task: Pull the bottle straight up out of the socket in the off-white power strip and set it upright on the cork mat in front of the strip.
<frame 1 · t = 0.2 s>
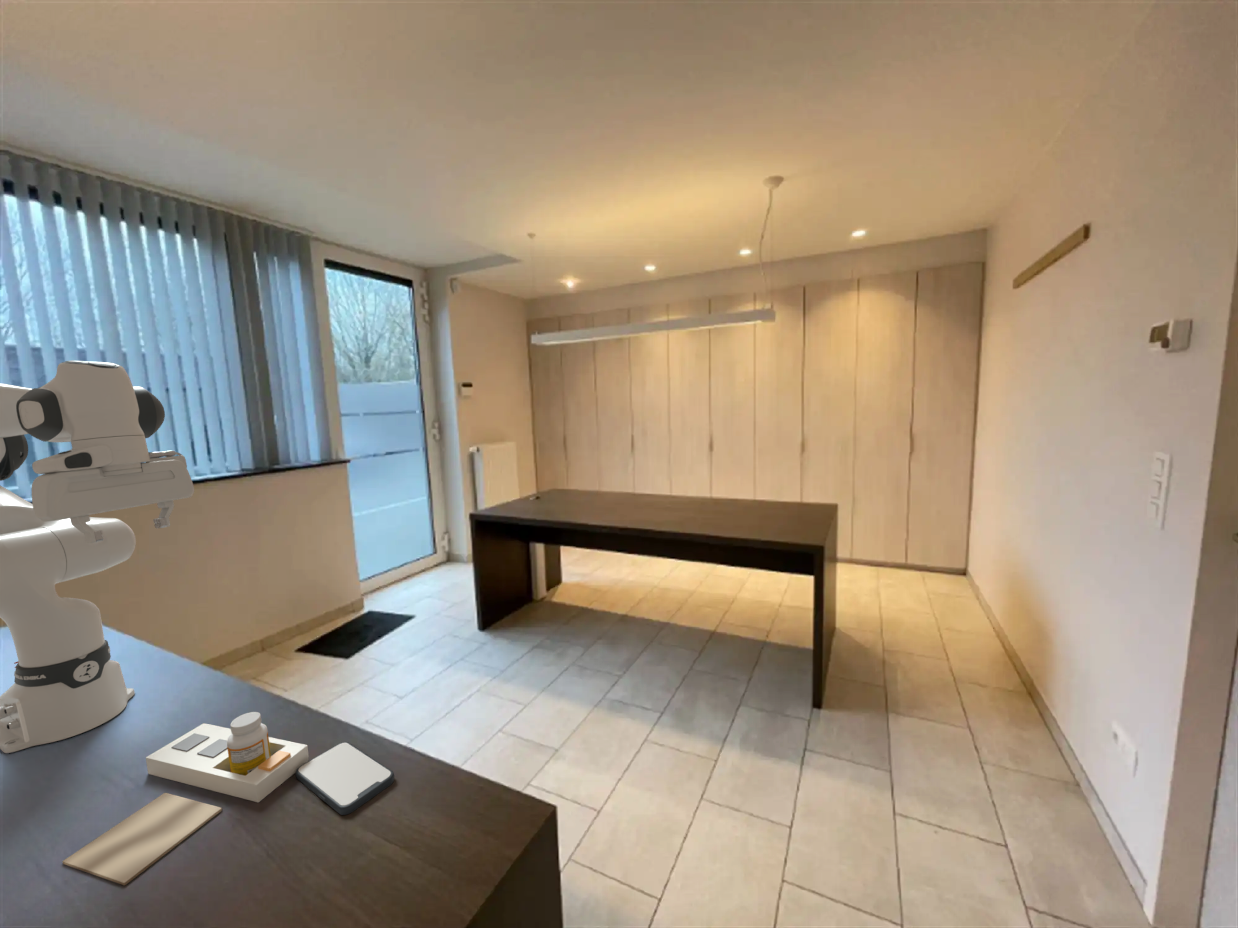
hand: (130, 534, 85), 39 cm above the table, tool pointing down, fingers open, 8 cm apart
supplement bottle: (252, 773, 82), resting in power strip
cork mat: (147, 835, 70), on the table
phone case: (345, 780, 80), on the table
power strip: (229, 767, 83), on the table
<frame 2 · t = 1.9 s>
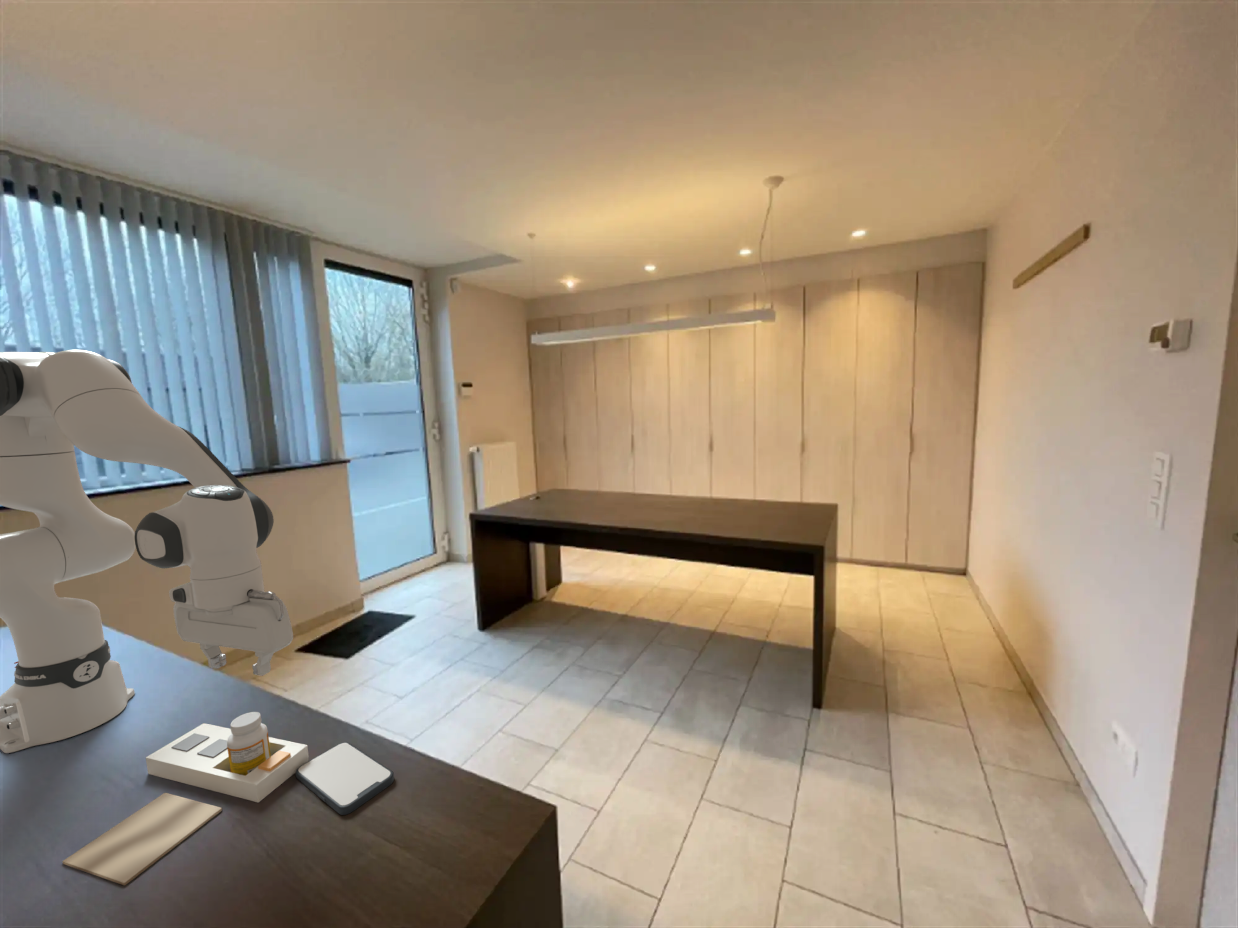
hand: (239, 669, 79), 18 cm above the table, tool pointing down, fingers open, 8 cm apart
nothing on the table moved.
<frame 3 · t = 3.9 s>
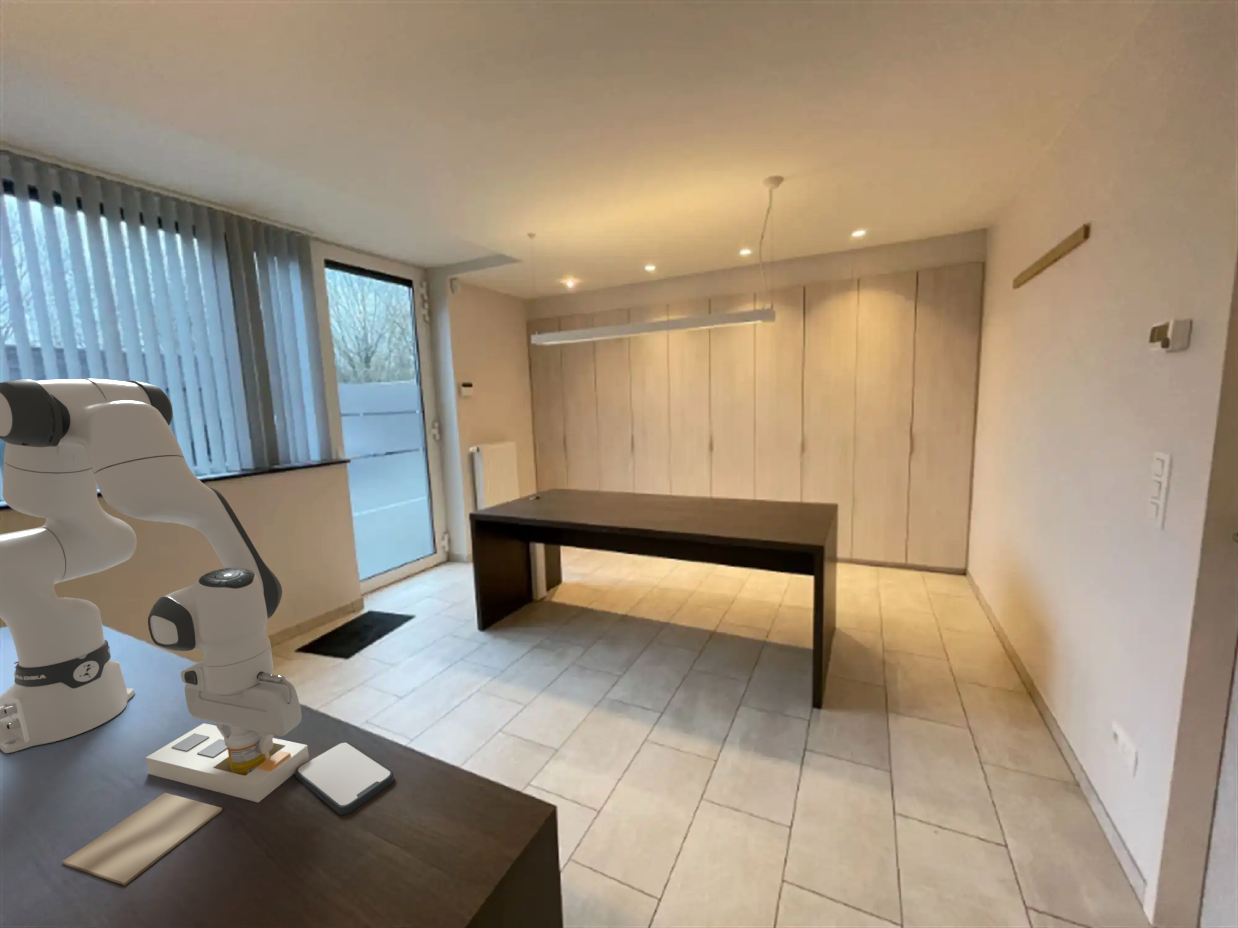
hand: (249, 747, 81), 5 cm above the table, tool pointing down, fingers closed on supplement bottle, 5 cm apart
supplement bottle: (252, 773, 82), resting in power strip, touching gripper
everything else where it was.
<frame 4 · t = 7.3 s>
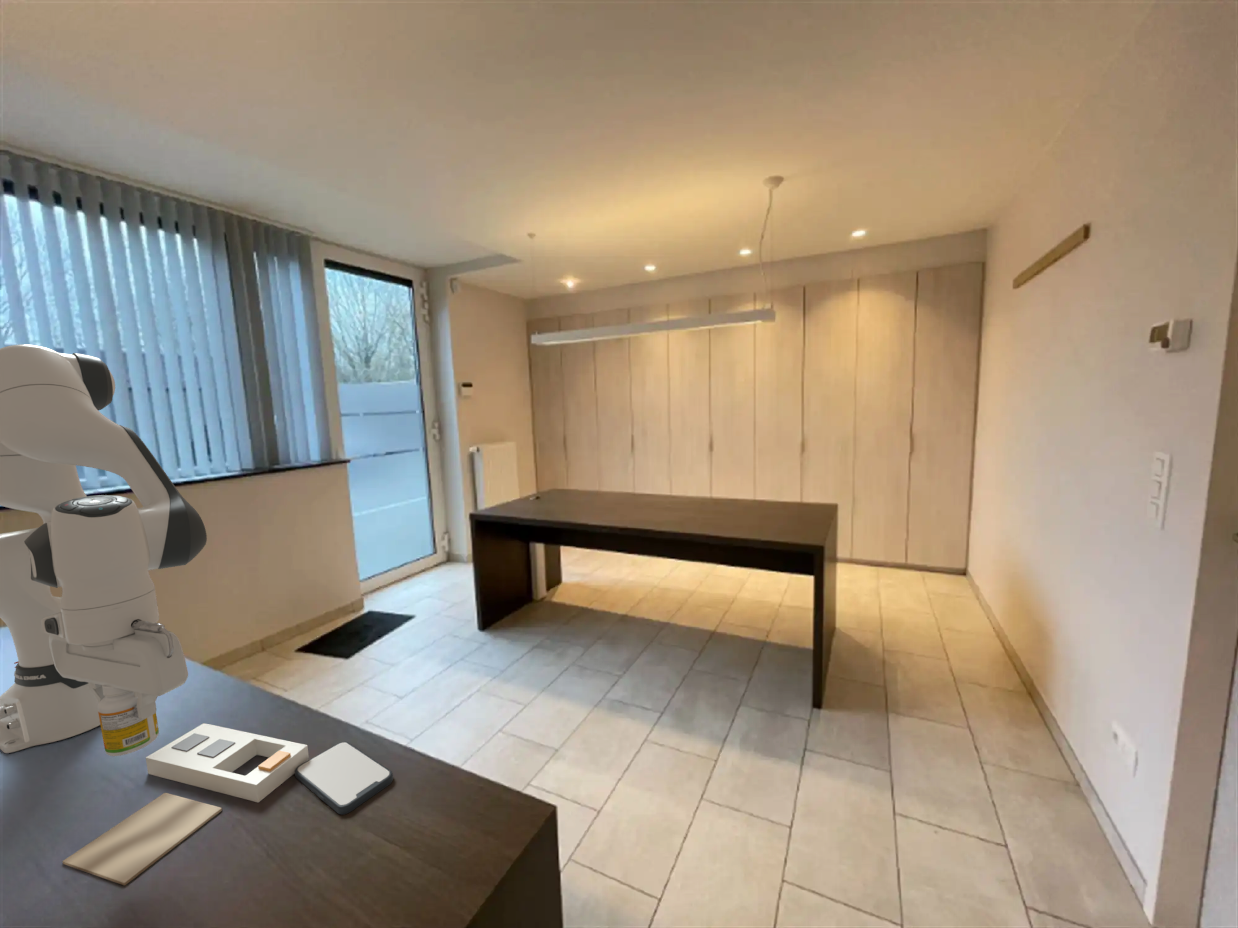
hand: (128, 711, 68), 19 cm above the table, tool pointing down, fingers closed on supplement bottle, 5 cm apart
supplement bottle: (133, 744, 68), point 14 cm above the table, touching gripper
everything else where it was.
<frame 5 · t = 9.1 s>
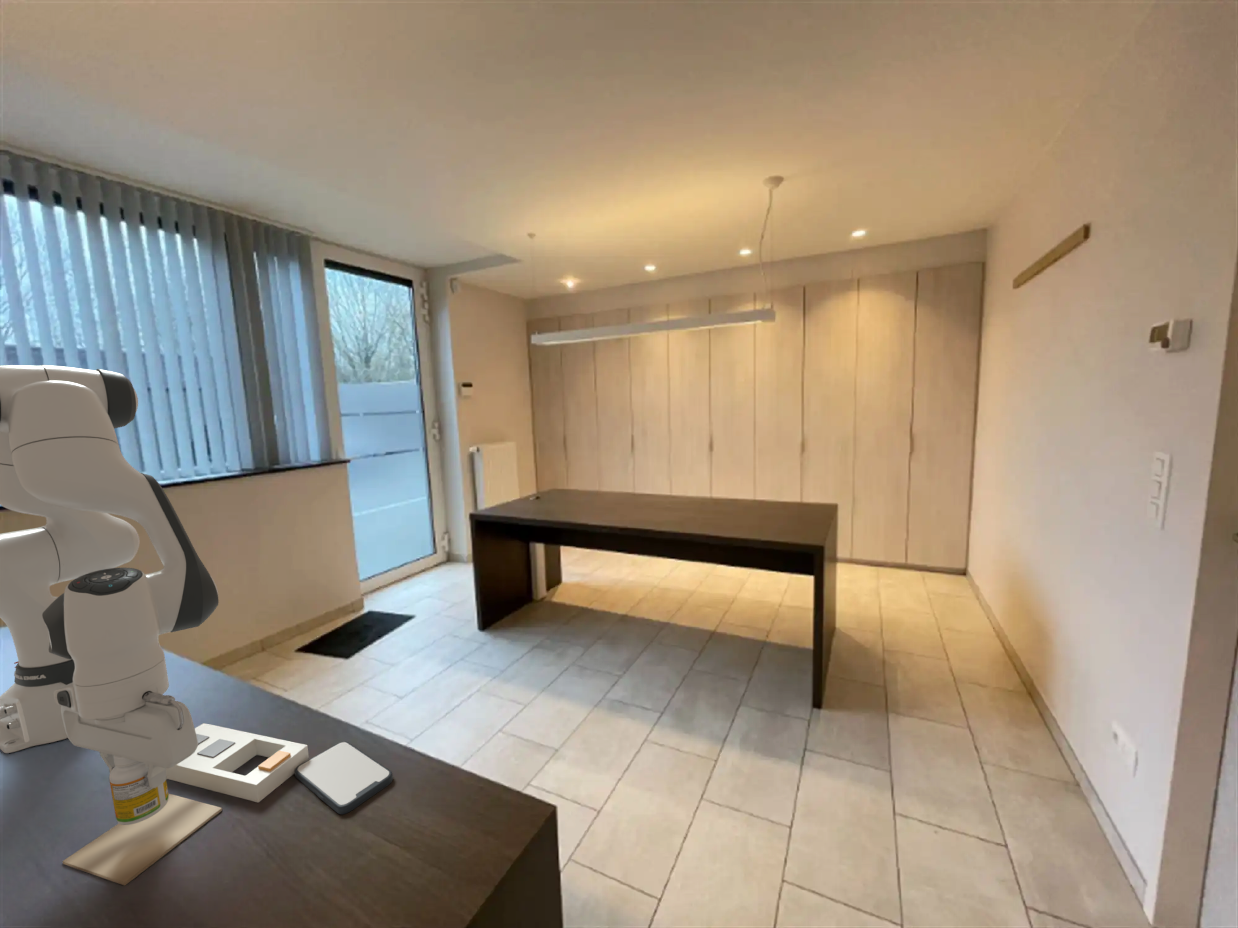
hand: (138, 779, 69), 9 cm above the table, tool pointing down, fingers closed on supplement bottle, 5 cm apart
supplement bottle: (143, 811, 70), point 4 cm above the table, touching gripper
everything else where it was.
when the fingers open (6 cm above the table, at t = 10.5 s): supplement bottle drops 1 cm, resting on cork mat.
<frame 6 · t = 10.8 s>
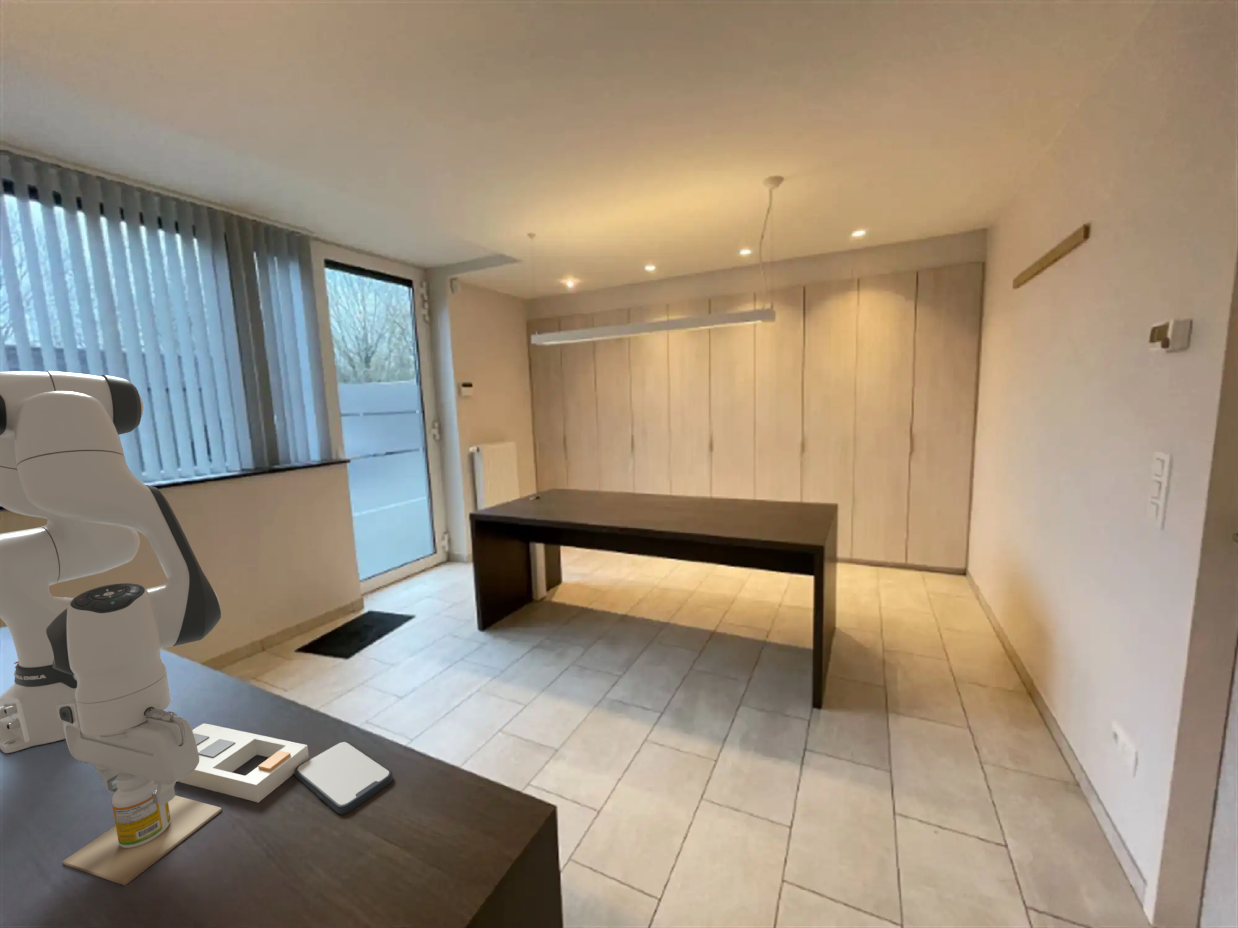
hand: (140, 794, 69), 6 cm above the table, tool pointing down, fingers open, 8 cm apart
supplement bottle: (146, 833, 70), resting on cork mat
everything else where it was.
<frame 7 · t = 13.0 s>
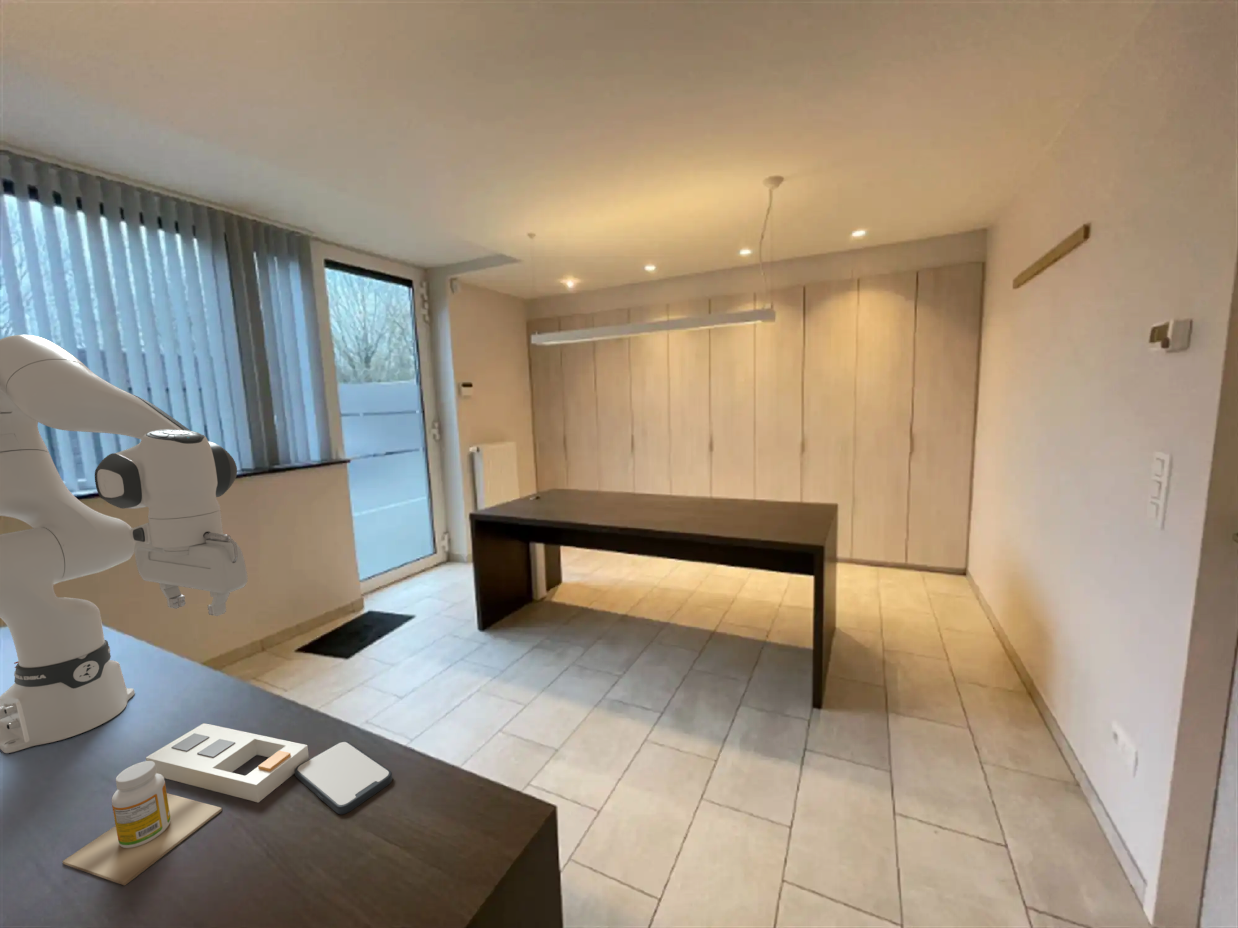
hand: (197, 610, 82), 27 cm above the table, tool pointing down, fingers open, 8 cm apart
nothing on the table moved.
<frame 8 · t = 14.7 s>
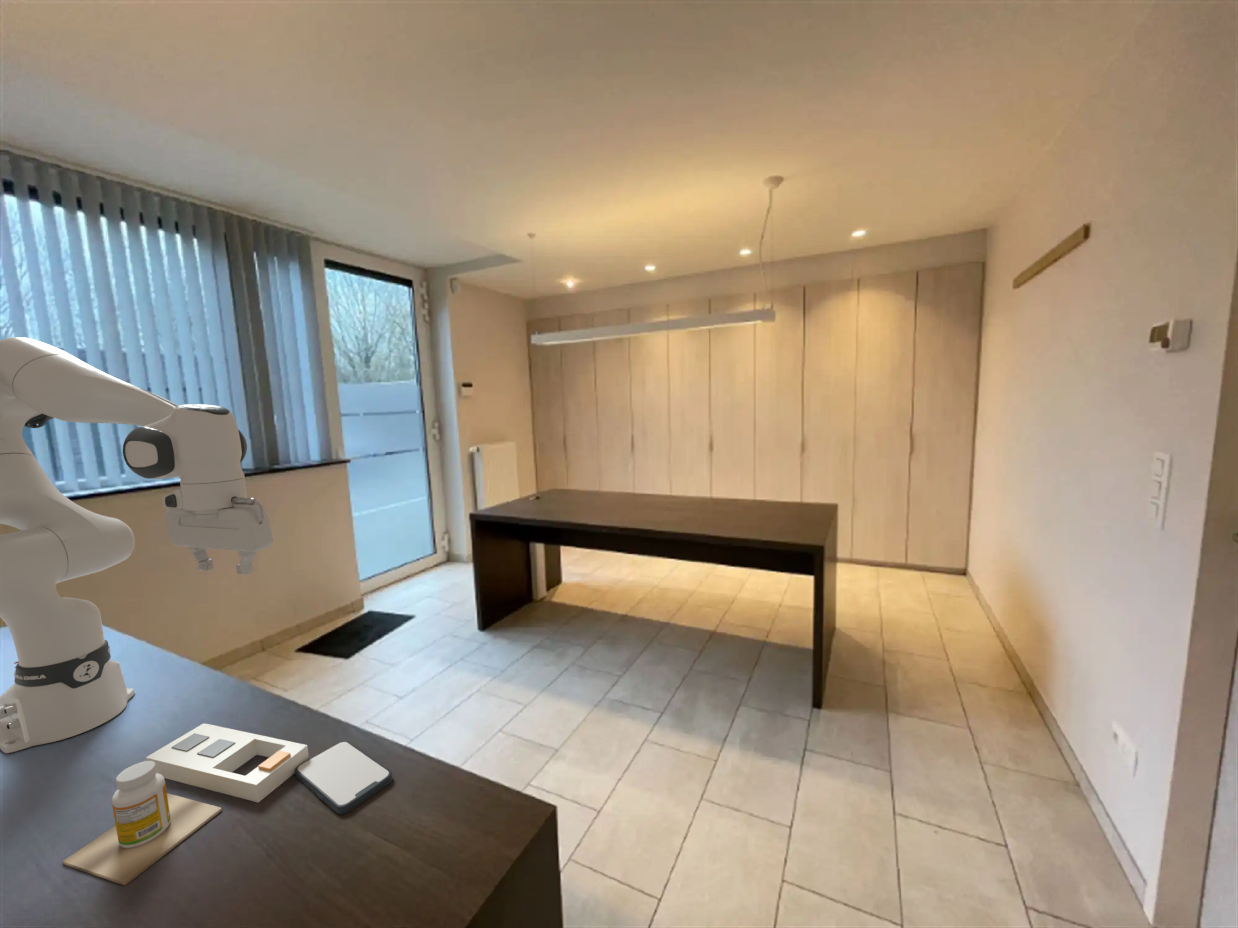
hand: (225, 571, 89), 31 cm above the table, tool pointing down, fingers open, 8 cm apart
nothing on the table moved.
at the end: supplement bottle inside the target area on the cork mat (0.2 cm from its centre), point 0.2 cm above the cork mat's base; supplement bottle tilted 0°; the gripper is holding nothing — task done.
